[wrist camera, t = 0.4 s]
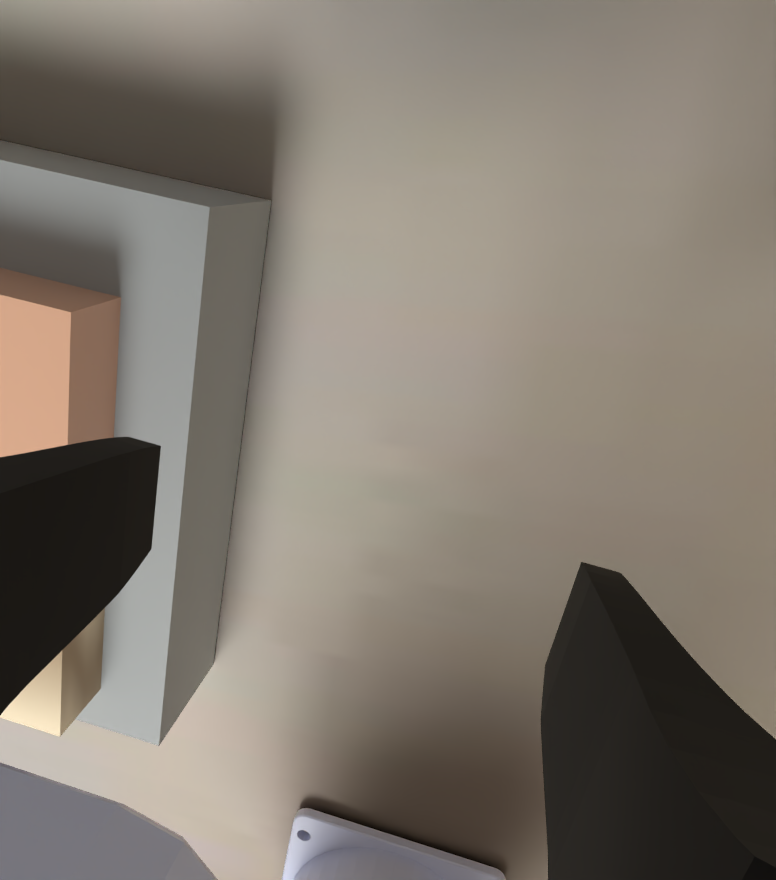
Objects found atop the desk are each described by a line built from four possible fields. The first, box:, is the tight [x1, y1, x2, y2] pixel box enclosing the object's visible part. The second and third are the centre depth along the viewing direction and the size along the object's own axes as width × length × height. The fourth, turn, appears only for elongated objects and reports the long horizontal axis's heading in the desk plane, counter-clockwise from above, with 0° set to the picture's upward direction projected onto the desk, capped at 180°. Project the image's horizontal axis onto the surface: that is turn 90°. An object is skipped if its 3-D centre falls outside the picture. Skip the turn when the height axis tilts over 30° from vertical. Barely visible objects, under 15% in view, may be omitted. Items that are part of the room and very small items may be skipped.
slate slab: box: [0, 140, 271, 746], centre depth 22 cm, size 16×10×4 cm, turn 169°
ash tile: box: [0, 608, 105, 736], centre depth 20 cm, size 5×5×2 cm
